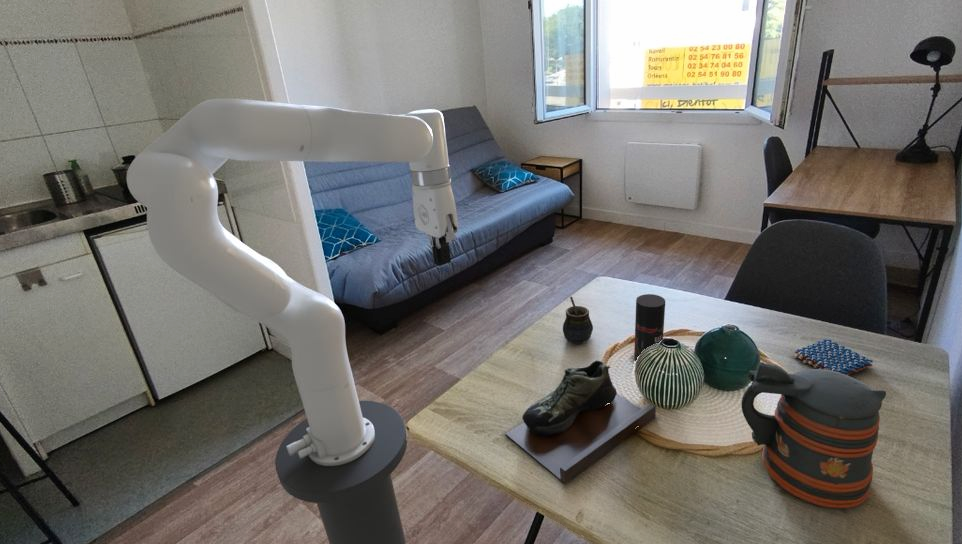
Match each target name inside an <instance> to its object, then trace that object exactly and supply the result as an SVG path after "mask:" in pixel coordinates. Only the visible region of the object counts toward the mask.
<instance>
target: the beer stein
mask: <svg viewBox="0 0 962 544" xmlns="http://www.w3.org/2000/svg"><path fill="white" fill-rule="evenodd" d="M747 377H748V378H749V380H750V381H751V384H750V385H749V386H748V387H747V388H746V389H745V391H744V393H743V395H742V397H741V411H742V415H743V417H744V419H745V421H746V423H747V425H748V427H750V429H751V430H752V431H751V439H752V440H753V442H754V443H756V445H757V446H758V447H759V446H763V449H762V452H761V458H762V459H761V460H762V461H763V465H764V467H765V469H766V472H767V473H768V475H769V477H771V479H772V480H773V481H774V482H775V483H776V484H778V485H779V486H780V487H781V488H782V489H783V490H784V491H786V492H787V493H788V494H790V495H791V496H794V497H796V498H798V499H799V500H802V501H804V502H807V503H810V504H813V505H816V506H821V507H825V508H829V509H838V510H841V509H850V508H853V507H854V508H855V507H857V506H859V505H862V503H864V502H865V501H866V500H867V498H868V497H869V495H870V492H871V484H872V481H873V475H874V474H873V473H874V465H873V455H874V453H873V452H874V449H875V448H876V446H877V444H878V439H879V431H880V421H881V416H880V410H881V408H882V405H883V400H884V399H885V398H886V396H887V391H886V390H884V389H874V388H872V387H871V386H869V385H868V384H866V383H864V382H862V381H861V380H859V379H856V378H854V377H852V376H850V375H845V374H842V373H839V372H835V371H831V370H824V369H819V368H807V369H803V370H799V371H796V372H794V373H788V371H786V369H783V368H782V367H780V366H779V365H775V364H772V363H766V362H763V361H760V362H758V364H757V366H756V370H749V371H748V375H747ZM763 393H764V394H773V395H780V397H779V399H778V401H777V404H776V408H775V410H774V415H773V414H766V413H763V412H760V411H759V410H757V409H756V408H755V405H754V402H755V399H756V397H758V395H760V394H763Z"/></svg>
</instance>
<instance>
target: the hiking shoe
mask: <svg viewBox="0 0 962 544" xmlns="http://www.w3.org/2000/svg"><path fill="white" fill-rule="evenodd" d="M610 368H611V366H608V365H606V363H605V362H603V361H601V360H595V361H593V362H591V363H590V364H589V365H587V366H582V367H581V366H580V367H566V368H565V370H564V375H563V377H562V379H561V381H560V382H559V384H558V385H557V387H555V390H553V391H552V392H550V393H549V394H547V395H546V396H544V397H543V398H541V399H539V400H537V401H536V402H535V403H533V404H531V405H530V406H529V407H528V408H527V409H526V410H525V411H524V413H523V415H522V417H521V418H522V421H523V422H524V423H525V424H526V426H527V427H528V429H529V430H530V431H531V432H533V433H536V434H538V435H541V436H544V437H548V436H552V435H556V434H559V433H562V432H564V431H566V430H568V428H569V427H570V426H571V425H572V423H573V422H574V420H575V418H576V416H577V415H578V414H579V413H580V412H583V411H587V410H596V409H600V408H602V407H605V405H606V404H607V403H612V402H613V400H614V399H615V396H616V395H618V394H617V392H618V391H617V389H616V387H615V386H614V385H613V382H612V378H611V375H610V372H609V369H610ZM608 405H609V404H608ZM606 406H607V405H606Z"/></svg>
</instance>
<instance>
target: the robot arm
mask: <svg viewBox="0 0 962 544" xmlns="http://www.w3.org/2000/svg"><path fill="white" fill-rule="evenodd" d="M446 135H447V134H446V128H445V121H444V116H443V113H442V112H441V111H440V110H438V109H433V108H432V109H431V108H429V109H427V108H426V109H417V110H413V111H409V112H407V113H403V114H390V113H389V114H388V113H377V112H367V111H358V110H349V109H343V108H339V107H332V106H322V105H313V104H301V103H289V102H279V101H269V100H257V99H247V98H245V99H244V98H212V99H206V100H204V101H202V102H200V103H198V104H196V105H195V106H194V107H193V108H191V109H190V110H189V111H188V112H187V113H185V114H184V115H183V116H182V117H181V118H179V119H178V121H176V122H175V123H174V124H173V125H171V126H170V127H169V128H168V129H167V130H165V132H163V133H161V135H160V136H159V137H157V138H156V139H155V140H154V141H153V142H152V143H150V144H149V145H148V146H147V147H146V148H144V149H143V150H142V151H141V152H140V153H138V155H137V156H136V157H134V159H133V160H132V162H131V163H130V165H129V166H128V169H127V171H126V184H127V188H128V190H129V193H130V195H132V198H134V199H135V200H136V201H137V202H138V204H140V205H142V206H143V207H145V208H146V226H147V227H146V228H147V233H148V236H149V239H150V243H151V245H152V247H153V249H154V250H155V252H156V254H157V255H158V256H159V258H160V259H161V260H162V261H163V262H164V263H165V264H166V265H167V266H168V267H170V268H171V269H172V270H173V271H175V272H176V273H178V274H179V275H181V276H182V277H184V278H186V279H187V280H189V281H191V282H192V283H194V284H195V285H197V286H198V287H200V288H201V289H203V290H204V291H206V292H207V293H210V294H211V295H213V296H214V297H215V299H217V300H218V301H220V302H222V303H223V304H224V305H225V306H227V307H228V308H230V309H232V310H233V311H235V312H237V313H239V314H242V315H244V316H247V317H248V318H250V319H252V320H254V321H256V322H257V323H259V324H261V325H262V326H264V327H266V328H267V329H269V330H270V331H272V332H273V333H274V334H276V335H278V336H279V337H280V338H281V339H283V340H284V341H285V342H286V343H287V345H288V346H289V348H290V352H291V368H292V374H293V378H294V380H295V383H296V386H297V390H298V393H299V397H300V399H301V403H302V407H303V410H304V413H305V416H306V417H305V418H307V420H308V423H309V427H308V428H307V429H306V430H307V435H305V436H303V439H301V440H299V441H297V442H294V443H292V444H290V445H288V446H286V447H287V450H288V453H289V455H290V456H291V455H293V454H295V453H297V452H298V455H299V457H300V459H301V458H303V457H305V456H307V455H309V457H310V458H311V460H312V461H313V462H315V463H317V464H319V465H323V466H337V465H342V464H346V463H348V462H351V461H353V460H355V459H357V458H358V457H360V456H361V455H362V454H364V453H365V452H366V451H367V450H368V449H369V447H370V446H371V445H372V443H373V441H374V437H375V431H374V427H373V425H372V423H371V422H370V421H369V420H367V419H366V418H363V416H362V412H361V408H360V404H359V401H360V399H359V396H358V392H357V387H356V383H355V380H354V374H353V371H352V367H351V363H350V359H349V355H348V350H347V343H346V342H347V341H346V323H345V317H344V315H343V313H342V310H341V309H340V307H339V306H338V305H337V304H336V303H335V302H334V301H333V300H331V299H330V298H329V297H327V296H325V295H323V294H321V293H320V292H318V291H315V290H314V289H310V288H308V287H307V286H304V285H303V284H301V283H300V282H298V281H296V280H295V279H293V278H291V277H289V276H288V275H287V273H286V272H285V270H284V269H282V268H281V266H279V265H278V264H277V263H276V262H274V261H273V260H272V259H270V258H268V257H266V256H264V255H262V254H260V253H259V252H257V251H256V250H254V249H253V248H251V247H250V246H248V245H247V244H245V243H244V242H242V241H241V239H239V238H238V237H237V236H235V235H234V234H233V233H231V232H229V231H228V230H227V229H226V228H225V227H224V226H223V224H222V223H221V222H220V218H219V213H218V204H219V203H218V202H219V188H218V184H217V181H216V179H215V176H214V174H215V173H216V172H217V171H218V170H219V169H220V168H221V167H222V166H223V165H224V164H225V163H226V162H227V161H228V160H234V161H241V162H312V163H313V162H315V163H316V162H317V163H319V162H321V163H349V162H369V163H371V162H372V163H409V169H410V177H411V183H412V186H411V187H412V188H411V189H412V190H411V191H412V192H411V196H412V198H411V199H412V209H413V218H414V225H415V228H416V230H418V231H420V232H422V233H424V234H426V235H427V236H428V240H429V245H430V246H431V251H432V257H433V264H434V265H437V266H438V267H441V266H445V265H447V264H450V263H451V262H452V258H451V250H450V245H451V243H453V242H456V235H455V234H456V233H457V232H458V230H459V221H458V220H459V219H458V212H457V205H456V201H455V197H454V192H453V189H452V185H451V183H452V178H451V169H450V161H449V154H448V153H449V152H448V145H447V136H446ZM306 447H307V448H306Z"/></svg>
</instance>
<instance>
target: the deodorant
mask: <svg viewBox="0 0 962 544" xmlns="http://www.w3.org/2000/svg"><path fill="white" fill-rule="evenodd" d="M665 314H666V299H665V298H664V297H662V296H661V295H659V294H652V293H646V294H640V295H639V296H637V297H636V299H635V319H634V321H635V322H634V323H635V324H634V347H633V348H634V351H633V352H634V353H633V360H634V362H636V360H637V357H638V356H639V355H640V354H641V352H642V351H643V350H644V349H646V348H647V347H649V346H651V345H653V344H656V343H659V342H660V341H661V340H663V341H664V330H665V329H664V328H665V327H664V326H665Z"/></svg>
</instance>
